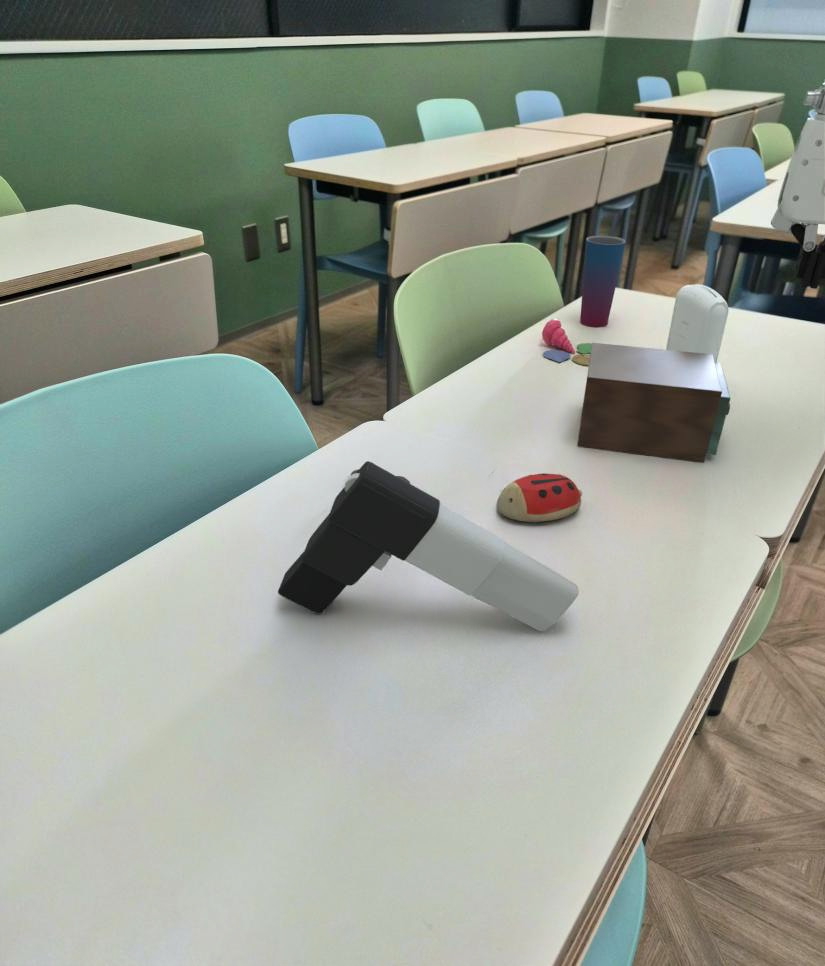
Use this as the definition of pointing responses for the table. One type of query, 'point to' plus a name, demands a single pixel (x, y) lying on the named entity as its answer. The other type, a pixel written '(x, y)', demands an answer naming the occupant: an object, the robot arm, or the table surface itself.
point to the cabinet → (649, 402)
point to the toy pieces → (563, 344)
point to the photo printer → (698, 321)
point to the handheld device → (420, 552)
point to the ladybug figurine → (539, 498)
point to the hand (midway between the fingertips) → (806, 284)
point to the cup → (600, 278)
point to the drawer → (719, 412)
